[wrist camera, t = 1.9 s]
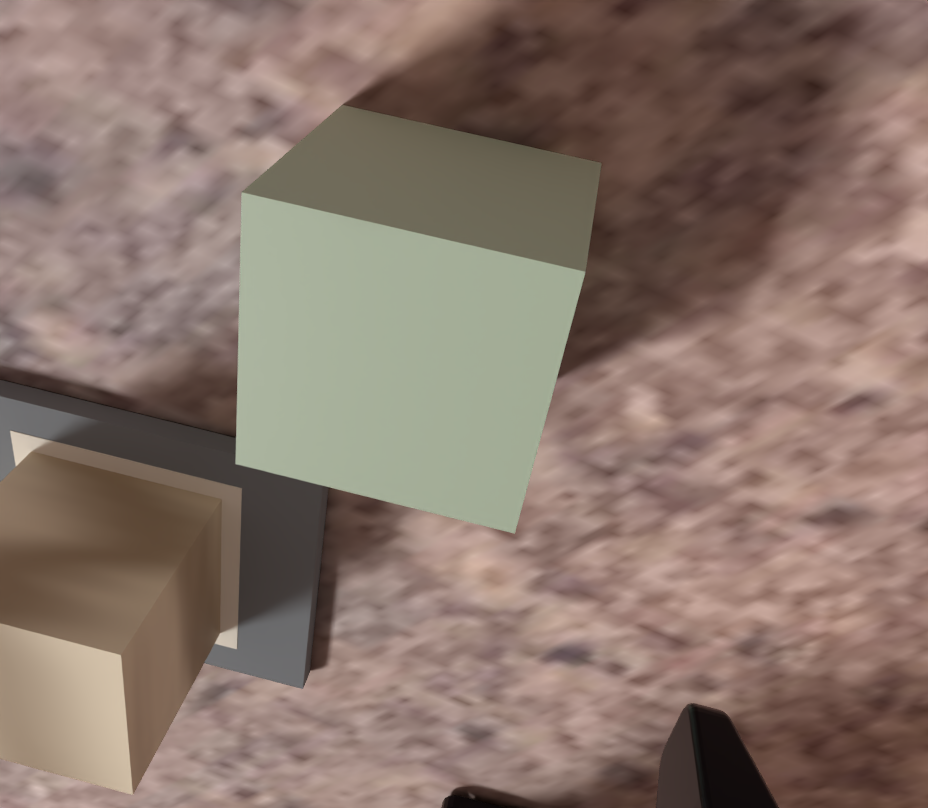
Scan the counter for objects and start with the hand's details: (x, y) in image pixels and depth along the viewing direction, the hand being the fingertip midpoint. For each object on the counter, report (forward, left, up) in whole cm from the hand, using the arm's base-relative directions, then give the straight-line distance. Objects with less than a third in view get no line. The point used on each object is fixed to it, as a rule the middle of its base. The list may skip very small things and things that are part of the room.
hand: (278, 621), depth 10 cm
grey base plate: (+7, +10, -10) cm, 16 cm away
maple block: (+7, +10, -9) cm, 15 cm away
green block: (0, 0, -10) cm, 10 cm away
